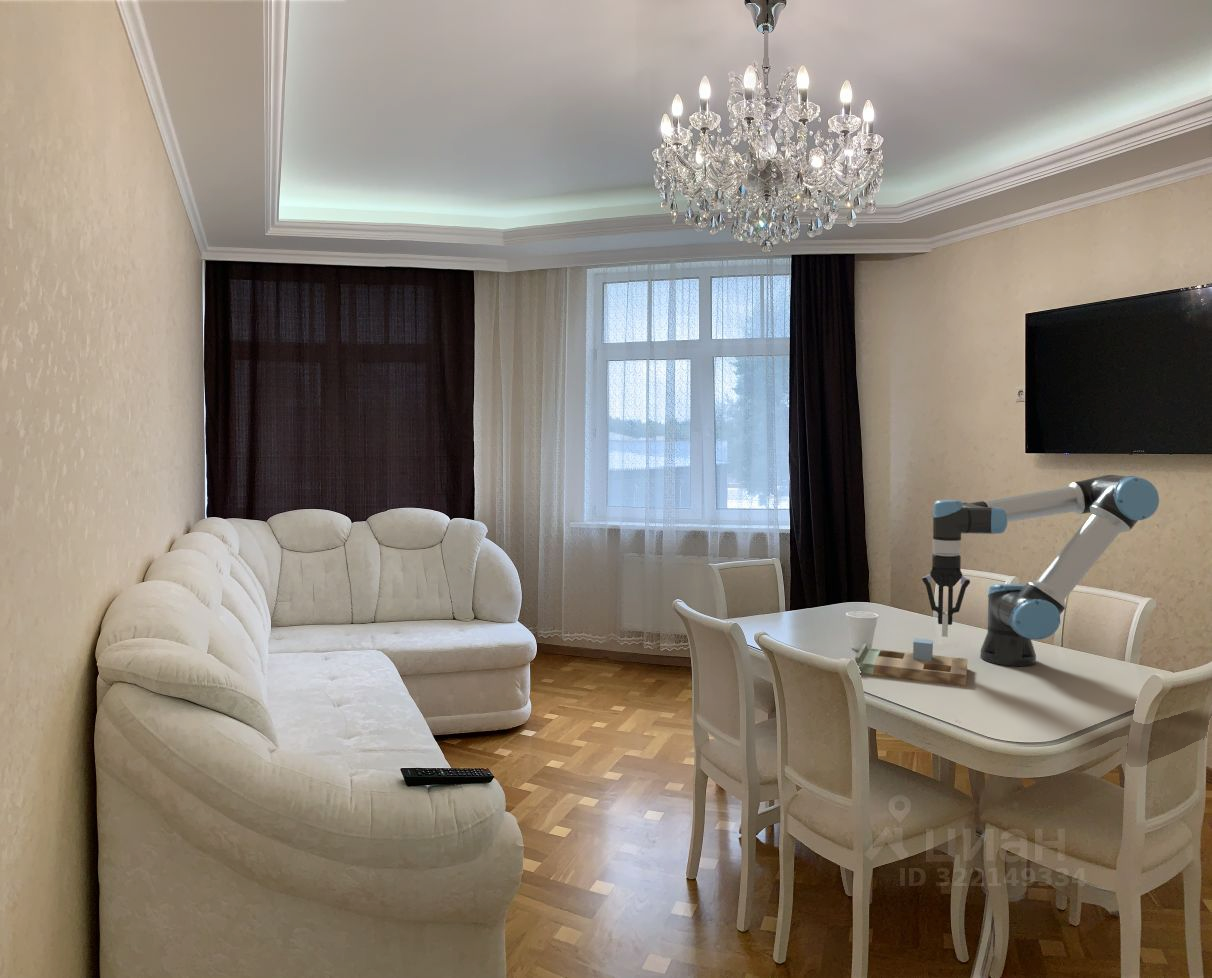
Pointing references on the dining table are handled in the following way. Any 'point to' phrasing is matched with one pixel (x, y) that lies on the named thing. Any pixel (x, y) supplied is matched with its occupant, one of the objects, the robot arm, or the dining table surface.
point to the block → (922, 649)
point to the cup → (861, 628)
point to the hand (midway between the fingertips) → (944, 635)
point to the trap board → (911, 666)
